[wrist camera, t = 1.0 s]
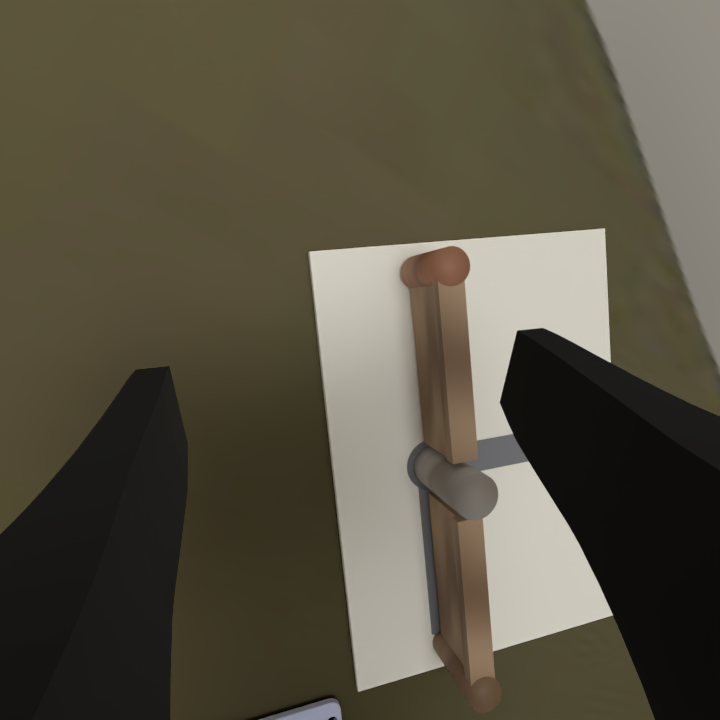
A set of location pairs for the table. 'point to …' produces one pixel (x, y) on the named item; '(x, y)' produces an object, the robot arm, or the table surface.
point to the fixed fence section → (462, 573)
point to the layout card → (405, 440)
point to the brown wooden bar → (443, 350)
